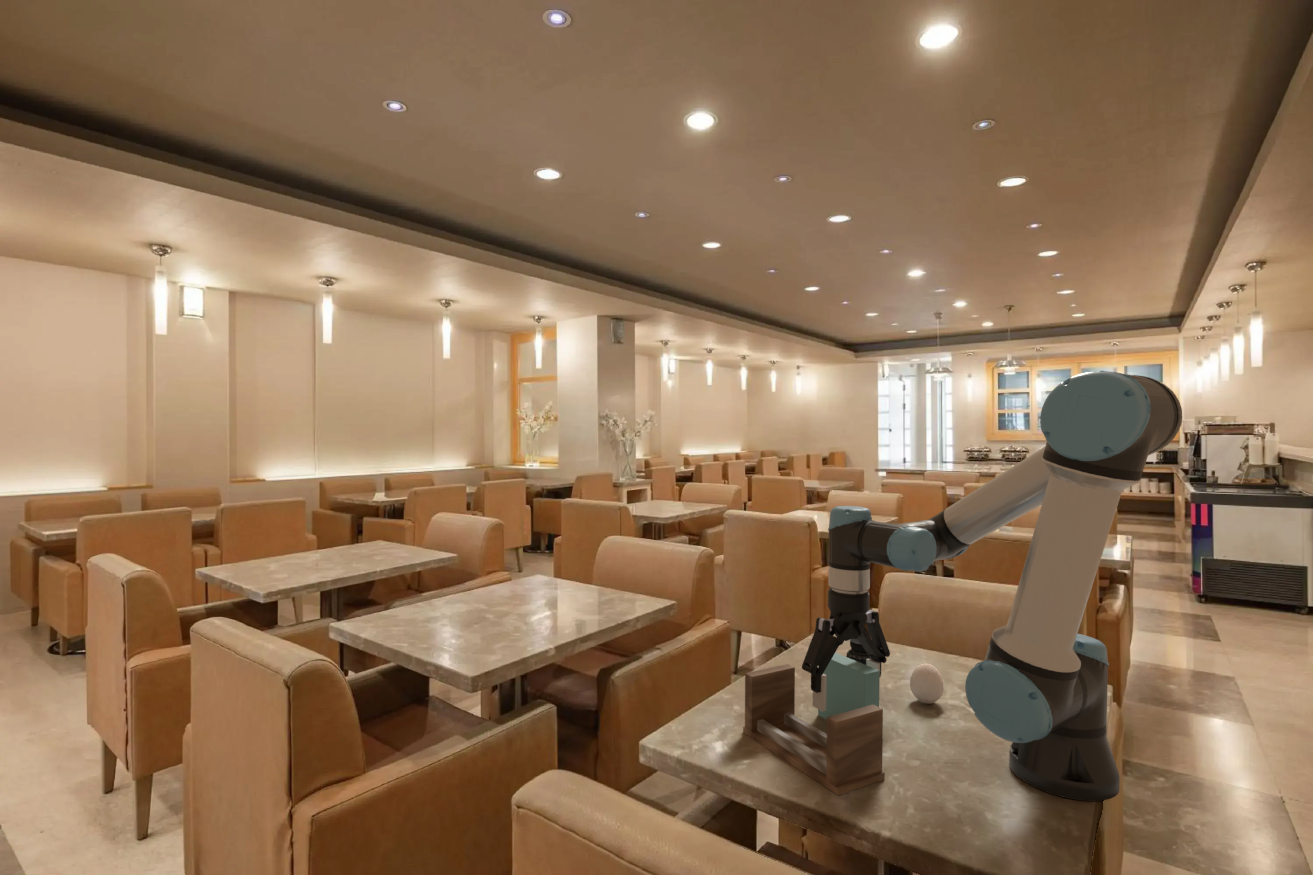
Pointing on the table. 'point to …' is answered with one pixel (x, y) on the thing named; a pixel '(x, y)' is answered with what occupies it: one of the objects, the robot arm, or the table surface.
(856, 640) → the pill bottle
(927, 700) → the egg
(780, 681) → the wooden desk organizer
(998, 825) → the table surface
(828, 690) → the green rectangular box
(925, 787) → the table surface
